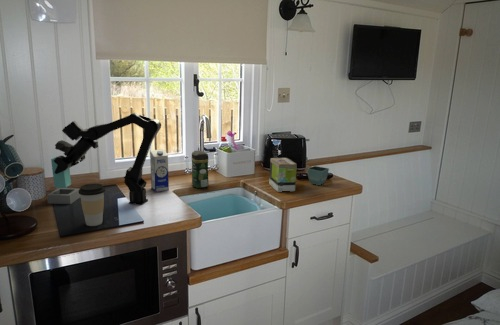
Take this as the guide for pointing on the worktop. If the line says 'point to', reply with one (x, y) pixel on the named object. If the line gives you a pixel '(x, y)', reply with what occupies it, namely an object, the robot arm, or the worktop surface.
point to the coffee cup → (92, 203)
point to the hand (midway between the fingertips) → (58, 171)
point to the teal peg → (60, 177)
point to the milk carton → (159, 170)
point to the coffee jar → (199, 169)
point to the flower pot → (317, 175)
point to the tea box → (282, 174)
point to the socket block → (63, 196)
